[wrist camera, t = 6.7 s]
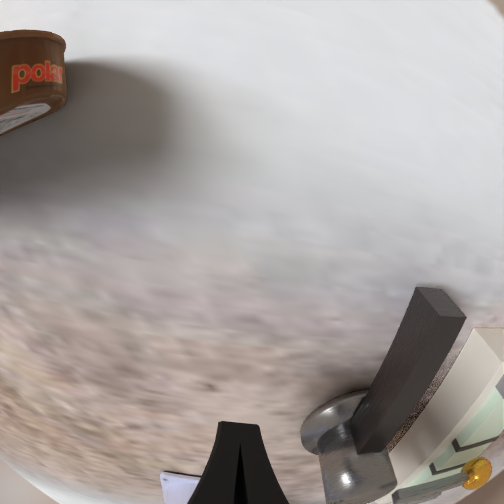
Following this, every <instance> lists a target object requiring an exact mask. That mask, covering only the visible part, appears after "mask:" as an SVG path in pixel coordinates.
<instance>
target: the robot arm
mask: <svg viewBox="0 0 504 504" xmlns="http://www.w3.org/2000/svg"><path fill="white" fill-rule="evenodd" d="M160 479H161V485H162V490H163V495H164V500H165V503H164V504H289V503H288V501H287V499H286V497H285V495H284V493H283V491H282V489H281V487H280V485H279V483H278V481H277V479H276V476H275V474H274V472H273V469H272V467H271V464H270V462H269V459H268V456H267V453H266V450H265V447H264V444H263V440H262V436H261V432H260V427H259V426H258V425H257V424H245V423H235V422H226V421H221V422H218V428H217V434H216V439H215V443H214V446H213V449H212V452H211V455H210V458H209V460H208V462H207V465H206V467H205V470H204V472H203V474H202V476H201V477H193V476H186V475H180V474H174V473H168V472H161V474H160Z"/></svg>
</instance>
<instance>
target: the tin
mask: <svg viewBox="0 0 504 504" xmlns="http://www.w3.org/2000/svg"><path fill="white" fill-rule="evenodd" d="M65 49H66V43H65V40H64V39H63V38H62V37H61V36H59V35H57V34H54V33H52V32H48V31H40V30H13V31H4V32H0V136H1V135H4V134H6V133H8V132H10V131H12V130H14V129H17V128H19V127H21V126H23V125H26V124H28V123H31V122H33V121H35V120H37V119H40V118H42V117H44V116H46V115H49V114H51V113H53V112H55V111H57V110H58V109H60V108H61V107H63V105H64V104H65V103H66V100H67V85H66V74H65V63H64V52H65Z"/></svg>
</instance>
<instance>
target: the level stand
mask: <svg viewBox="0 0 504 504" xmlns="http://www.w3.org/2000/svg"><path fill="white" fill-rule="evenodd" d="M503 429H504V328H473V330H472V332H471V334H470V336H469V338H468V340H467V341H466V343H465V345H464V347H463V349H462V350H461V352H460V354H459V356H458V357H457V359H456V361H455V362H454V364H453V366H452V367H451V369H450V371H449V372H448V374H447V375H446V377H445V379H444V380H443V382H442V383H441V385H440V386H439V388H438V389H437V391H436V392H435V394H434V395H433V397H432V398H431V400H430V401H429V403H428V404H427V405H426V407H425V408H424V410H423V411H422V412H421V414H420V415H419V416H418V418H417V419H416V421H415V422H414V423H413V424H412V426H411V427H410V428H409V430H408V431H407V432H406V433H405V435H404V436H403V437H402V438H401V440H400V441H399V442H398V443H397V445H396V446H395V447H394V448H393V449H392V451H391V452H390V453H389V457H390V460H391V463H392V466H393V469H394V473H395V476H396V479H397V482H398V484H397V486H396V488H395V489H394V490H392V491H391V492H390V493H388V494H387V495H385V496H383V497H381V498H379V499H377V500H375V501H376V504H384V503H389V502H393V499H392V494H393V493H394V492H395V491H396V490H397V489H402V488H406V487H411V486H415V485H419V484H423V483H427V482H431V481H434V480H438V479H441V478H445V477H448V476H451V475H454V474H457V473H460V472H461V470H462V468H463V466H464V465H465V464H466V463H467V462H468V461H470V460H471V459H473V458H477V457H478V456H479V455H480V454H481V453H482V452H483V451H484V450H485V449H486V448H487V447H488V446H489V445H490V444H491V443H492V442H493V441H495V440H496V439H497V438H498V437H499V436H498V435H499V434H500V433H501V432H502V431H503ZM439 495H441V492H439V493H436V494H433V495H429V496H426V497H422V498H418V499H415V500H411V501H407V502H403V503H398V504H418V503H421V502H425V501H428V500H432V499H435V498H437V497H438V496H439ZM393 504H394V502H393Z"/></svg>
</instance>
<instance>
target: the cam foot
mask: <svg viewBox="0 0 504 504" xmlns="http://www.w3.org/2000/svg"><path fill="white" fill-rule="evenodd" d="M466 318H467V317H466V316H465V314H464V313H463V312H462V311H461V310H460V309H459V308H458V307H457V305H456V304H455V303H454V302H453V301H452V300H451V299H450V298H449V297H448V296H447V294H446V293H445V292H444V291H443V290H442V289H433V288H424V287H416V288H415V291H414V293H413V296H412V298H411V301H410V303H409V306H408V308H407V311H406V313H405V315H404V318H403V320H402V322H401V325H400V327H399V329H398V332H397V334H396V336H395V338H394V340H393V343H392V345H391V347H390V349H389V351H388V353H387V355H386V357H385V359H384V362H383V364H382V366H381V368H380V370H379V372H378V373H377V375H376V377H375V379H374V381H373V383H372V385H371V387H370V389H369V390H363V391H357V392H353V393H349V394H346V395H343V396H340V397H337V398H335V399H333V400H331V401H328V402H327V403H325V404H323V405H321V406H320V407H318V408H317V409H316V410H314V411H313V412H312V413H311V414H310V415H309V416H308V417H307V418H306V419H305V420H304V422H303V424H302V426H301V430H300V434H301V441H302V444H303V446H304V448H305V449H306V450H308V451H309V452H311V453H313V454H316V455H319V461H320V467H321V473H322V479H323V485H324V492H325V498H326V504H366V503H369V502H372V501H375V500H377V499H379V498H381V497H383V496H385V495H387V494H388V493H390V492H391V491H392V490H394V489H395V488H396V486H397V484H398V482H397V479H396V476H395V473H394V469H393V466H392V463H391V460H390V457H389V454H388V451H387V448H386V446H387V444H388V443H389V442H390V441H391V439H392V438H393V437H394V435H395V434H396V433H397V431H398V430H399V429H400V427H401V426H402V425H403V423H404V422H405V421H406V419H407V418H408V416H409V415H410V413H411V412H412V411H413V409H414V408H415V406H416V405H417V403H418V402H419V400H420V399H421V397H422V396H423V394H424V393H425V391H426V390H427V388H428V386H429V385H430V383H431V382H432V380H433V378H434V377H435V375H436V373H437V372H438V370H439V368H440V367H441V365H442V363H443V361H444V360H445V358H446V356H447V354H448V353H449V351H450V349H451V347H452V345H453V343H454V341H455V340H456V338H457V336H458V334H459V332H460V330H461V328H462V326H463V324H464V322H465V320H466ZM491 472H492V466H491V463H490V462H489V460H487V459H486V458H483V457H477V458H473V459H471V460H470V461H468V462H467V463H466V464H465V465H464V466H463V468H462V470H461V472H460V473H457V474H454V475H451V476H448V477H445V478H441V479H438V480H434V481H431V482H427V483H423V484H419V485H415V486H411V487H406V488H402V489H397V490H396V491H395V492H394V493H393V494H392V499H393V502H394V504H398V503H403V502H407V501H411V500H415V499H418V498H422V497H426V496H429V495H433V494H436V493H439V492H442V491H445V490H448V489H451V488H454V487H457V486H460V485H462V486H463V487H464V488H466V489H469V490H474V489H477V488H480V487H481V486H483V485H484V484H485V483H486V482H487V481H488V480H489V478H490V476H491Z"/></svg>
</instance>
